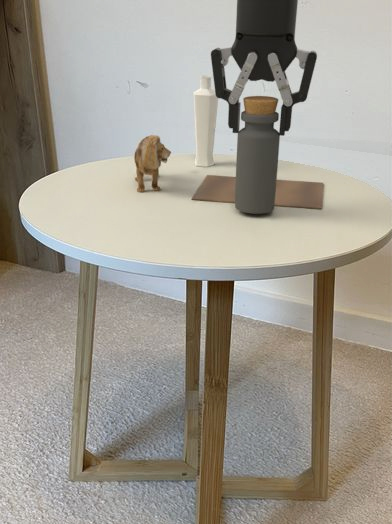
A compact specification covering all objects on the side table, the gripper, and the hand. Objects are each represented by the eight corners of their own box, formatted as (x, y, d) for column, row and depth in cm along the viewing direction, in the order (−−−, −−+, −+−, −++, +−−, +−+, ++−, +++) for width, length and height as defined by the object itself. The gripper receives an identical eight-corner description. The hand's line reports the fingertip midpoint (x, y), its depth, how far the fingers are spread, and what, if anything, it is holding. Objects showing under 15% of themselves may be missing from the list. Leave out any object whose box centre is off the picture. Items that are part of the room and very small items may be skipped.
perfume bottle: (218, 162, 113) (221, 75, 105) (213, 167, 110) (216, 78, 102) (194, 160, 114) (195, 74, 106) (189, 165, 110) (189, 77, 103)
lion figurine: (173, 197, 94) (172, 137, 89) (139, 198, 93) (137, 138, 88) (156, 172, 106) (155, 118, 102) (126, 173, 105) (124, 119, 101)
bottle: (268, 216, 85) (277, 103, 77) (229, 211, 87) (233, 100, 79) (278, 204, 90) (287, 96, 82) (240, 199, 91) (245, 93, 84)
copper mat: (323, 183, 102) (323, 182, 102) (322, 209, 90) (322, 208, 90) (207, 176, 105) (207, 174, 105) (191, 199, 93) (191, 198, 93)
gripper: (205, -10, 72) (203, 136, 81) (326, -8, 70) (311, 142, 78) (215, -10, 78) (212, 125, 87) (326, -8, 76) (312, 130, 85)
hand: (259, 132), depth 83 cm, fingers closed on bottle, 5 cm apart
